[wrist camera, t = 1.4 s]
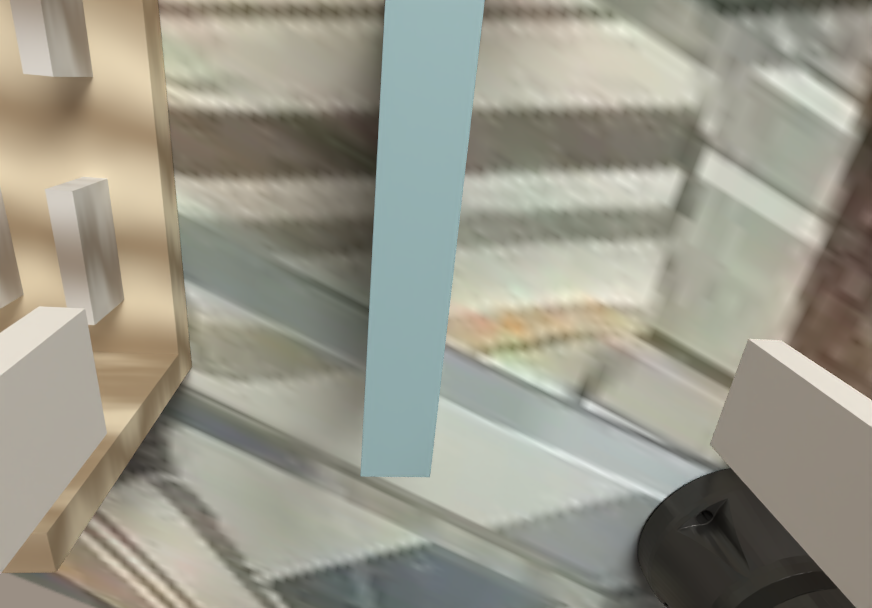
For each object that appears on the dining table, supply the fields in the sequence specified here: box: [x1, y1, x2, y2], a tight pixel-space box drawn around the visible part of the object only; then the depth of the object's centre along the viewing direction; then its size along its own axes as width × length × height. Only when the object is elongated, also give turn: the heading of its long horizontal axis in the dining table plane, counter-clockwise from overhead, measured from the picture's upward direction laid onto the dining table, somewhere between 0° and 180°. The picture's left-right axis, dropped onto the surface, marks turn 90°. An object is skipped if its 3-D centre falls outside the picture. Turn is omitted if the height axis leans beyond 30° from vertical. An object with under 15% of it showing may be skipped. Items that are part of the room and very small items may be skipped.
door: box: [361, 0, 485, 477], centre depth 25 cm, size 20×3×14 cm, turn 175°
